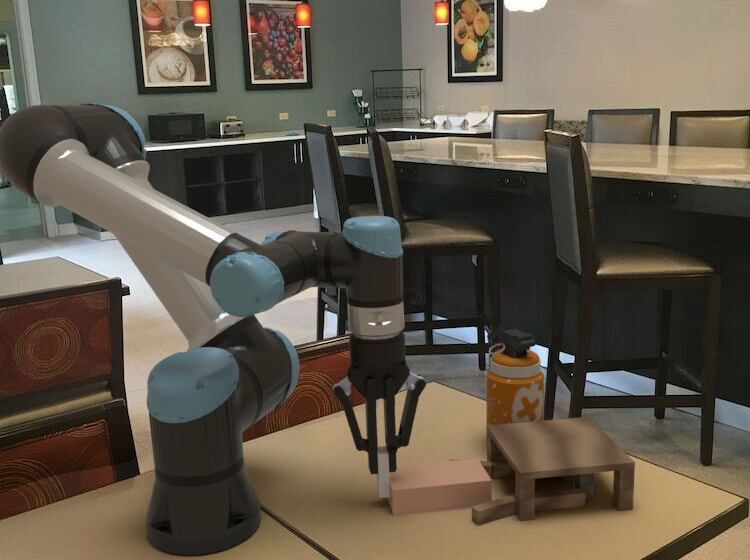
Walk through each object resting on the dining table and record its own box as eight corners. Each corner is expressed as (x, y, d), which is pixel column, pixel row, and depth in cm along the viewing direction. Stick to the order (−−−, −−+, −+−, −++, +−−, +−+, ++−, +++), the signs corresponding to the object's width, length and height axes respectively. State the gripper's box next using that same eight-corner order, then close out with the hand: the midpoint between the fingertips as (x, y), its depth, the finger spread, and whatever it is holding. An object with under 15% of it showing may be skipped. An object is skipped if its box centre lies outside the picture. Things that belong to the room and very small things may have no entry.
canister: (506, 464, 123) (507, 341, 118) (469, 438, 132) (469, 323, 128) (553, 453, 126) (556, 332, 122) (514, 428, 136) (515, 316, 132)
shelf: (474, 525, 105) (474, 477, 104) (447, 471, 121) (446, 428, 119) (632, 509, 108) (635, 462, 107) (586, 458, 124) (587, 416, 122)
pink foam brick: (393, 516, 109) (392, 490, 108) (384, 492, 116) (384, 467, 115) (491, 506, 111) (491, 480, 110) (477, 483, 118) (477, 458, 117)
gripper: (330, 343, 102) (340, 511, 107) (429, 336, 104) (434, 501, 109) (326, 328, 109) (335, 485, 114) (419, 321, 111) (423, 476, 116)
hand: (383, 492), depth 111 cm, fingers closed
